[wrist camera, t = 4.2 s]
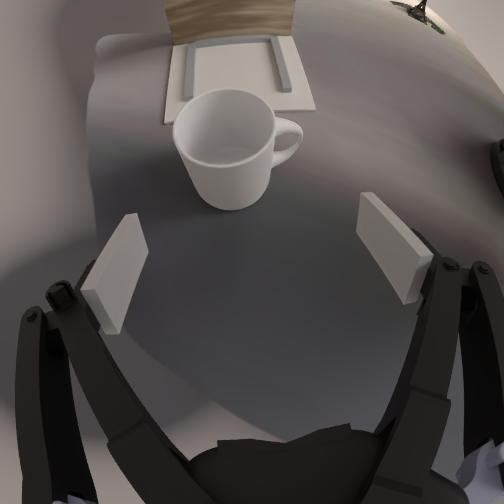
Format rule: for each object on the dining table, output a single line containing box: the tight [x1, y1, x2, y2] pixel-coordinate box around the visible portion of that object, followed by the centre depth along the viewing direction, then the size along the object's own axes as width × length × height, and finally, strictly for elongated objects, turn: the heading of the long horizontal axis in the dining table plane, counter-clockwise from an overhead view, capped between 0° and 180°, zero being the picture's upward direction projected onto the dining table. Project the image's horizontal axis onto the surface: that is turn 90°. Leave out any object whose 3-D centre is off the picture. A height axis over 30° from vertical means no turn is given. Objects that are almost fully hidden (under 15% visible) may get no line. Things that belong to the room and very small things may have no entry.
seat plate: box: [164, 34, 316, 125], centre depth 34 cm, size 18×20×2 cm
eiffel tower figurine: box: [390, 0, 446, 34], centre depth 35 cm, size 15×10×13 cm
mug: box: [172, 87, 303, 210], centre depth 26 cm, size 9×12×11 cm
